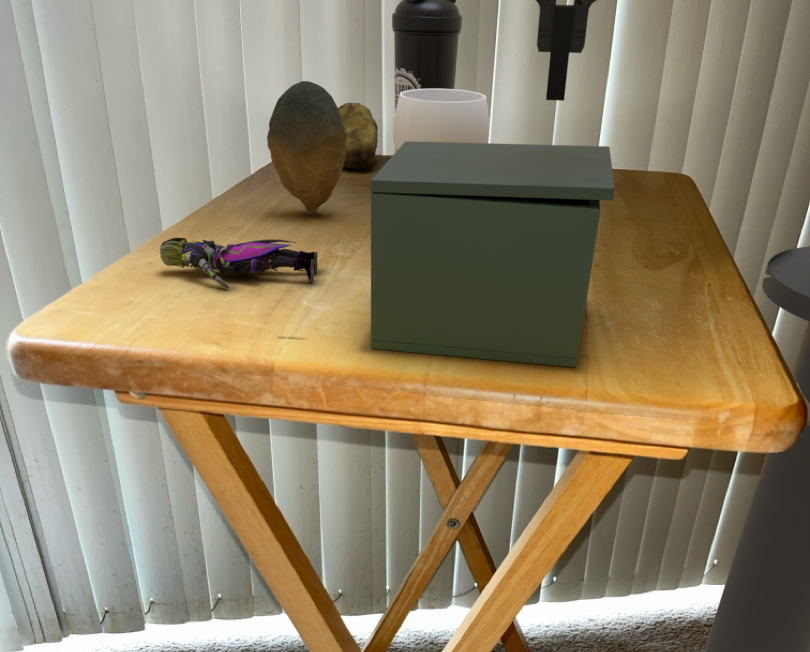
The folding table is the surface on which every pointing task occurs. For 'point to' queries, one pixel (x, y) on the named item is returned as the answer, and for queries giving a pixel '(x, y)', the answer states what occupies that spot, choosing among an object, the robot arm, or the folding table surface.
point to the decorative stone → (307, 143)
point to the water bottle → (425, 44)
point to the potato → (359, 135)
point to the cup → (441, 116)
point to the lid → (498, 170)
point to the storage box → (481, 275)
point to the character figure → (236, 257)
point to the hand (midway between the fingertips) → (555, 97)
